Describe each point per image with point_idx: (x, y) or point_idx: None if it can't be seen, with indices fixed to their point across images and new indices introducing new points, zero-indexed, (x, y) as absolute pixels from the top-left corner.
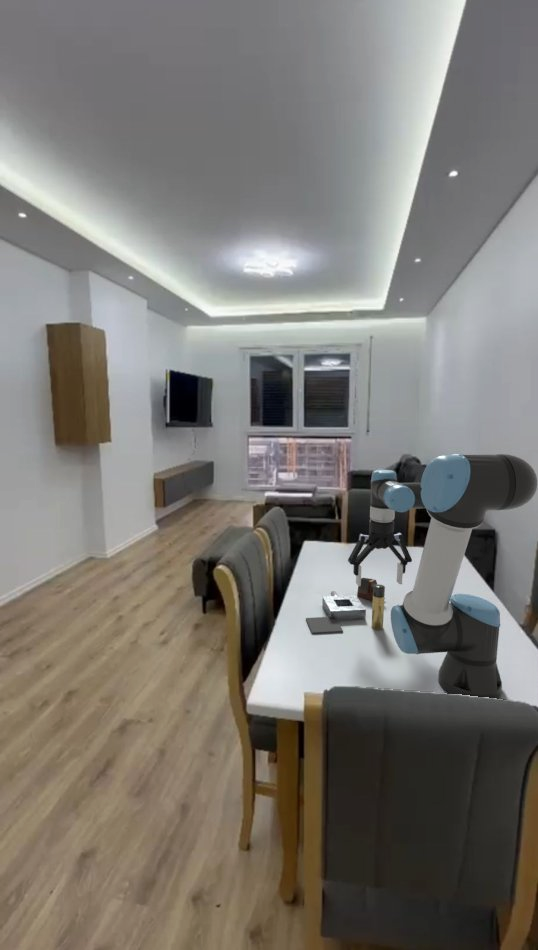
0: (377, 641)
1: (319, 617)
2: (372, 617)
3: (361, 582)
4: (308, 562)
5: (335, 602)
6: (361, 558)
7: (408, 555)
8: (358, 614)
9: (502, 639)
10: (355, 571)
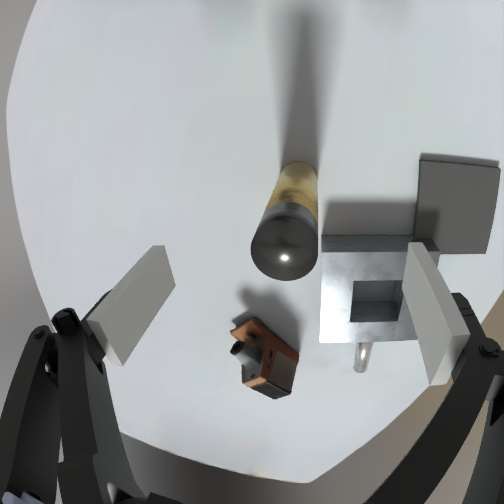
0: (323, 88)
1: (454, 252)
2: (317, 190)
3: (285, 384)
4: (342, 454)
5: (390, 315)
6: (472, 403)
7: (25, 361)
8: (346, 243)
9: (27, 133)
10: (469, 311)
